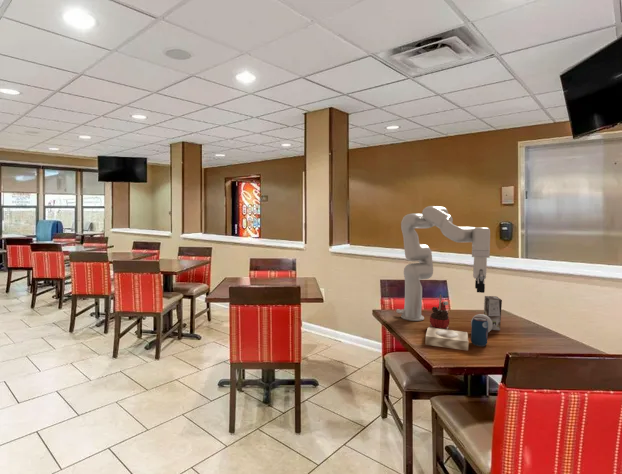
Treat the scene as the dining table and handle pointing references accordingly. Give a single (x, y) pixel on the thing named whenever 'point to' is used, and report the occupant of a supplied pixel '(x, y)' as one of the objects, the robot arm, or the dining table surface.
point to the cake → (440, 316)
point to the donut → (487, 321)
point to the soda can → (479, 331)
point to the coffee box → (493, 310)
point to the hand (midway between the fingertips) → (479, 290)
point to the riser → (447, 338)
